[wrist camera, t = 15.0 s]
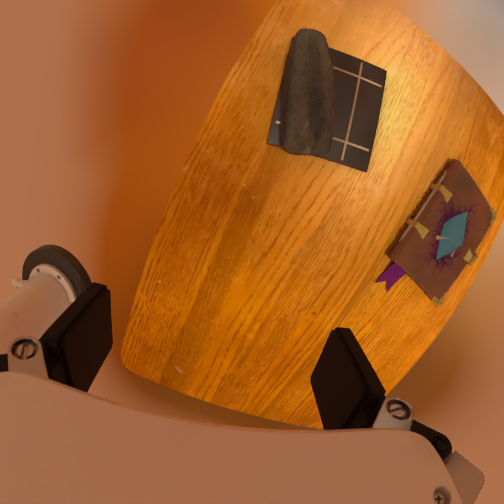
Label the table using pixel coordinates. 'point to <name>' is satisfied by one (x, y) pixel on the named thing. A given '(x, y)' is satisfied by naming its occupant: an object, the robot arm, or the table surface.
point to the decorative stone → (308, 96)
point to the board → (347, 111)
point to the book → (442, 234)
